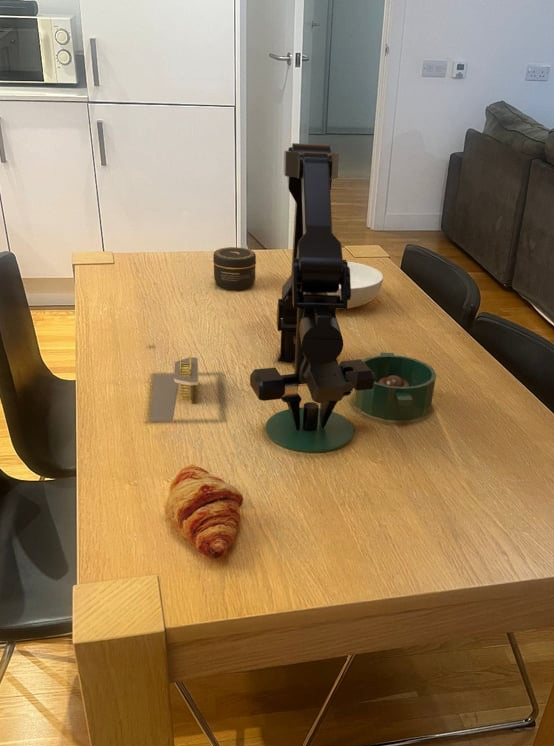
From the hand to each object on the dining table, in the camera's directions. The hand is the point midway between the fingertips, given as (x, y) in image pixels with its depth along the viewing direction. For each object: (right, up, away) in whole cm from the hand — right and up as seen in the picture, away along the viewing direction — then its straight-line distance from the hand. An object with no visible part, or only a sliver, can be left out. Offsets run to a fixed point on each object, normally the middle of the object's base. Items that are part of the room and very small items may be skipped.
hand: (309, 427), depth 122 cm
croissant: (-14, -14, -20) cm, 29 cm away
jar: (-18, +39, +59) cm, 73 cm away
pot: (+14, +5, +10) cm, 18 cm away
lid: (0, 0, 0) cm, 0 cm away
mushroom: (+14, +5, +10) cm, 19 cm away
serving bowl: (+6, +33, +52) cm, 62 cm away
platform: (-21, +6, +10) cm, 24 cm away
